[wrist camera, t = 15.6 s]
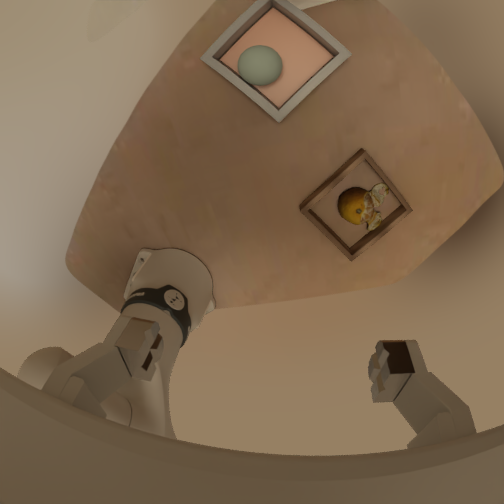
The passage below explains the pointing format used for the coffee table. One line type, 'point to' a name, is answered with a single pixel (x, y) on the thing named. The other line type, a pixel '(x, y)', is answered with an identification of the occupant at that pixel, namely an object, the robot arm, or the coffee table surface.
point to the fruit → (362, 205)
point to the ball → (260, 65)
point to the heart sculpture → (307, 3)
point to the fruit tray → (372, 235)
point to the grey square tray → (286, 45)
